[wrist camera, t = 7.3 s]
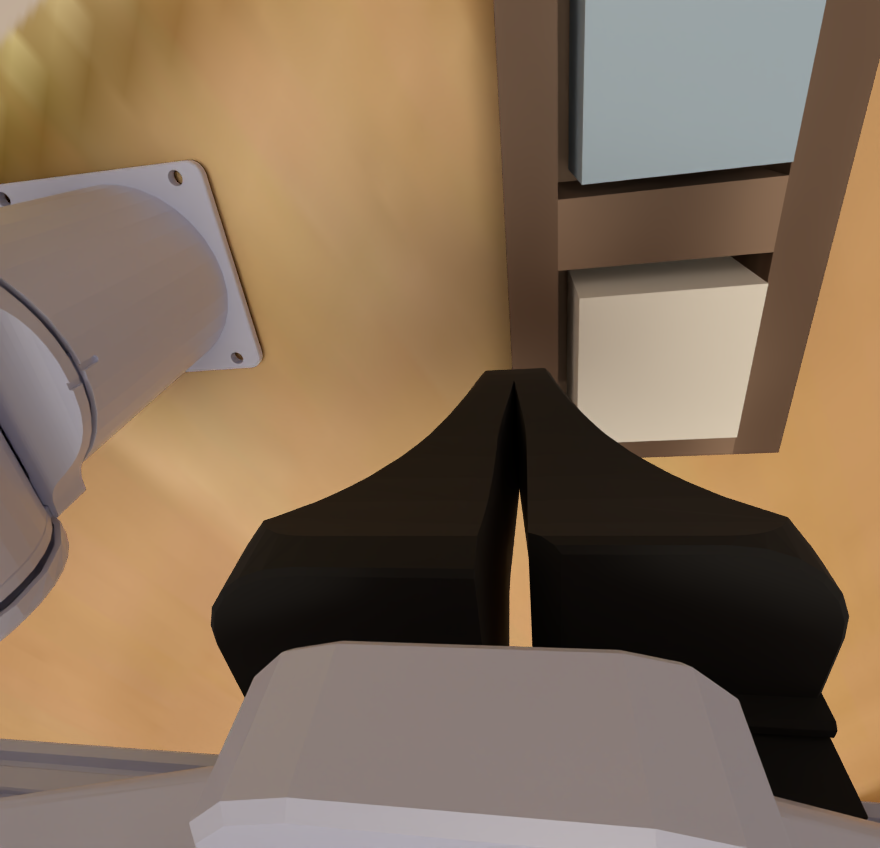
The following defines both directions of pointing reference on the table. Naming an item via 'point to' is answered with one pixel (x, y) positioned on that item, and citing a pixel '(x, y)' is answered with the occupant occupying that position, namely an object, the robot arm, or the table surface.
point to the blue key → (686, 84)
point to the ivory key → (663, 347)
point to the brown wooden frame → (676, 208)
